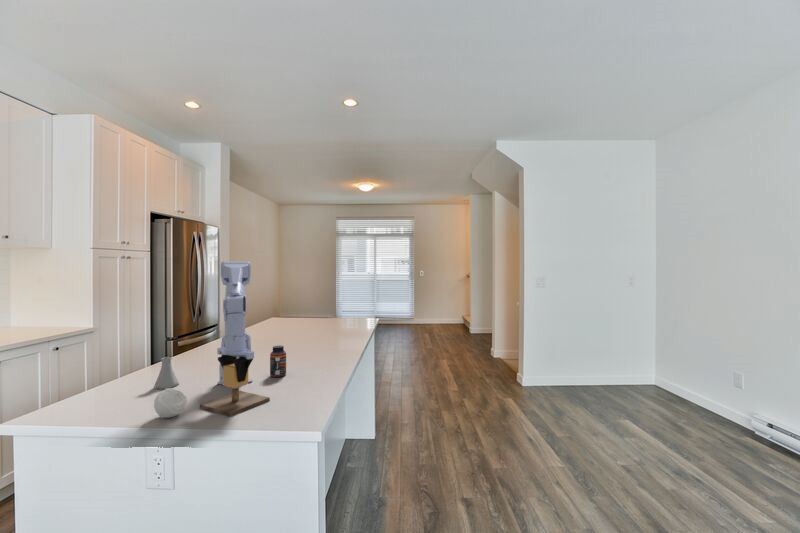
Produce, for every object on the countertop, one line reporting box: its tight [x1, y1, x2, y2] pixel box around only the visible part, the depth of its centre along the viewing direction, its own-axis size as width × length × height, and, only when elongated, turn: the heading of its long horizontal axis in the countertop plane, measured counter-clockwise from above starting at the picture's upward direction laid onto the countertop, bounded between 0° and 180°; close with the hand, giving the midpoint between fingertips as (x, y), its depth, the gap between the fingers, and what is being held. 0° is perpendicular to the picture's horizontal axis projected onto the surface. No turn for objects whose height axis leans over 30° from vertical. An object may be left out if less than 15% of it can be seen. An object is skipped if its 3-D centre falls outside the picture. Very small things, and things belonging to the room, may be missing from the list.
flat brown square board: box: [199, 387, 271, 417], centre depth 114 cm, size 14×14×4 cm
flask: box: [153, 356, 180, 390], centre depth 132 cm, size 7×7×10 cm
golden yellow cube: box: [223, 363, 249, 389], centre depth 114 cm, size 5×5×6 cm
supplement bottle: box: [269, 344, 287, 378], centre depth 144 cm, size 6×6×11 cm
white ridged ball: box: [153, 387, 188, 419], centre depth 105 cm, size 8×8×8 cm
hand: (235, 380), depth 114 cm, fingers closed on golden yellow cube, 5 cm apart
